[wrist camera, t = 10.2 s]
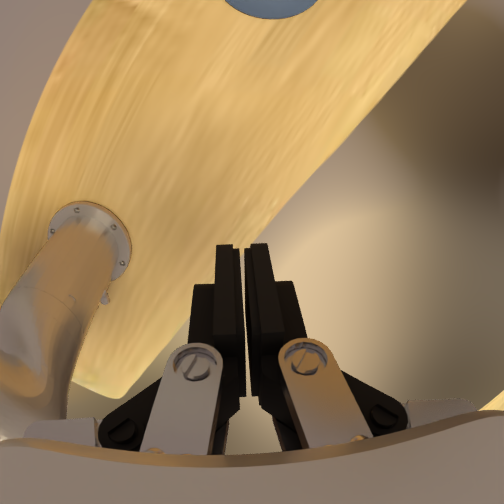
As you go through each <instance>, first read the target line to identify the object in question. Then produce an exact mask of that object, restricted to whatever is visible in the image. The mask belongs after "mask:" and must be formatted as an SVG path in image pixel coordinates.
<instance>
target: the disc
mask: <svg viewBox="0 0 504 504" xmlns="http://www.w3.org/2000/svg"><path fill="white" fill-rule="evenodd" d="M225 1H226V2H228V3H229V4H230V5H231V6H233V7H234V8H235V9H237V10H239V11H241V12H243V13H245V14H248V15H251V16H254V17H259V18H265V19H280V18H287V17H291V16H294V15H297V14H299V13H301V12H303V11H305V10H307V9H308V8H310V7H311V6H312V5H313V4H314V3H315V2H316V1H317V0H225Z"/></svg>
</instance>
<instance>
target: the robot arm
mask: <svg viewBox="0 0 504 504" xmlns="http://www.w3.org/2000/svg"><path fill="white" fill-rule="evenodd" d="M130 257H131V242H130V238H129V235H128V233H127V230H126V229H125V227H124V226H123V224H122V222H121V221H120V220H119V219H118V218H117V217H116V216H115V215H114V214H113V213H111V212H110V211H109V210H107V209H106V208H104V207H102V206H100V205H97V204H95V203H91V202H85V201H82V202H74V203H70V204H68V205H66V206H64V207H62V208H61V209H60V210H59V211H58V212H57V213H56V214H55V215H54V217H53V218H52V220H51V222H50V224H49V228H48V241H47V243H46V244H45V245H44V246H43V248H42V249H41V250H40V252H39V253H38V254H37V256H36V257H35V258H34V260H33V261H32V262H31V264H30V265H29V266H28V268H27V269H26V270H25V272H24V273H23V275H22V276H21V277H20V279H19V280H18V282H17V283H16V285H15V286H14V288H13V289H12V290H11V292H10V293H9V295H8V296H7V298H6V300H5V301H4V303H3V305H2V307H1V310H0V504H504V411H500V410H482V411H477V410H476V407H475V406H474V405H473V404H472V403H471V402H470V401H468V400H466V399H460V398H457V399H441V400H408V401H407V403H402V404H401V403H400V402H398V401H397V400H395V399H394V398H392V397H390V396H388V395H386V394H384V393H382V392H380V391H379V390H377V389H375V388H373V387H371V386H369V385H367V384H365V383H363V382H361V381H359V380H358V379H356V378H354V377H352V376H350V375H349V374H347V373H345V372H343V371H342V370H340V368H339V366H338V364H337V362H336V360H335V358H334V356H333V354H332V352H331V351H330V350H329V348H328V347H327V346H326V345H324V344H323V343H322V342H320V341H317V340H315V339H310V338H307V334H306V330H305V326H304V322H303V318H302V314H301V311H300V307H299V303H298V299H297V295H296V292H295V288H294V285H293V282H292V281H278V282H277V281H275V280H274V275H273V270H272V265H271V260H270V255H269V250H268V245H267V243H261V244H260V243H259V244H251V246H250V248H244V258H245V259H244V261H245V316H246V329H247V343H248V355H249V369H250V381H251V393H252V396H258V398H259V405H261V408H262V409H263V410H265V411H266V412H268V413H269V414H271V415H272V419H273V424H274V427H275V430H276V433H277V436H278V440H279V442H280V446H281V449H282V452H274V453H260V454H242V455H225V450H226V443H227V435H228V429H229V418H230V417H232V416H233V415H234V414H235V413H236V412H237V411H238V410H240V403H239V397H246V364H245V363H246V361H245V327H244V314H243V313H244V312H243V298H242V283H241V267H240V252H239V248H238V249H233V244H229V245H216V263H215V284H195V285H194V289H193V297H192V306H191V315H190V325H189V335H188V344H186V345H183V346H181V347H179V348H177V349H176V350H175V351H174V352H173V353H172V354H171V355H170V357H169V359H168V361H167V364H166V367H165V370H164V373H163V376H162V377H161V378H160V379H158V380H157V381H156V382H154V383H153V384H151V385H150V386H149V387H147V388H146V389H144V390H143V391H142V392H140V393H139V394H137V395H136V396H135V397H133V398H131V399H130V400H128V401H127V402H126V403H124V404H123V405H121V406H120V407H118V408H117V409H115V410H114V411H112V412H111V413H110V414H108V415H107V416H106V417H105V418H104V419H102V420H96V419H95V418H94V417H92V418H79V419H66V418H67V404H68V394H69V390H70V384H71V380H72V376H73V372H74V369H75V366H76V363H77V359H78V357H79V354H80V351H81V348H82V345H83V343H84V340H85V337H86V335H87V332H88V329H89V327H90V324H91V322H92V319H93V317H94V314H95V312H96V310H97V309H98V307H99V305H98V304H99V302H100V301H101V303H102V304H103V305H106V304H108V303H109V302H110V299H109V296H108V293H107V289H108V286H109V284H110V282H111V281H114V280H115V279H117V278H119V277H120V276H121V275H122V274H123V273H124V271H125V270H126V268H127V266H128V264H129V261H130Z"/></svg>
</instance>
